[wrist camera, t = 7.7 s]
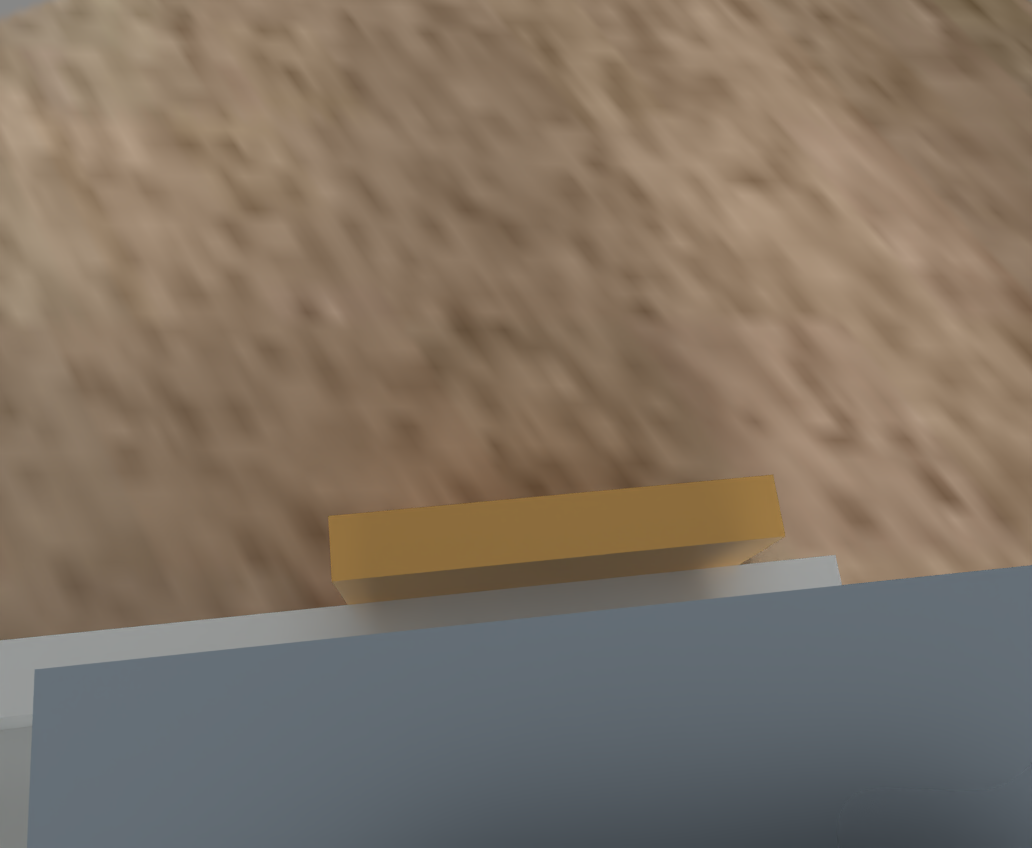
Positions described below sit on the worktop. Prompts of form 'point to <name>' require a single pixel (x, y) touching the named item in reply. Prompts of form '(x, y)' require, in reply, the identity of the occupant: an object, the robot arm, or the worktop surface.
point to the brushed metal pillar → (569, 730)
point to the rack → (460, 583)
